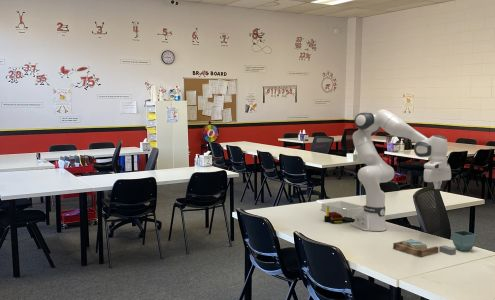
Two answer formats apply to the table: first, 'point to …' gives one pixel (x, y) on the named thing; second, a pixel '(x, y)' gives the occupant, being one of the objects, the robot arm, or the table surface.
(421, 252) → the bay
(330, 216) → the fire station toy set
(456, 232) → the flower pot
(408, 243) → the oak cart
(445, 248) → the block
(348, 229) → the table surface
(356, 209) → the toy storage tray
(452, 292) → the table surface
